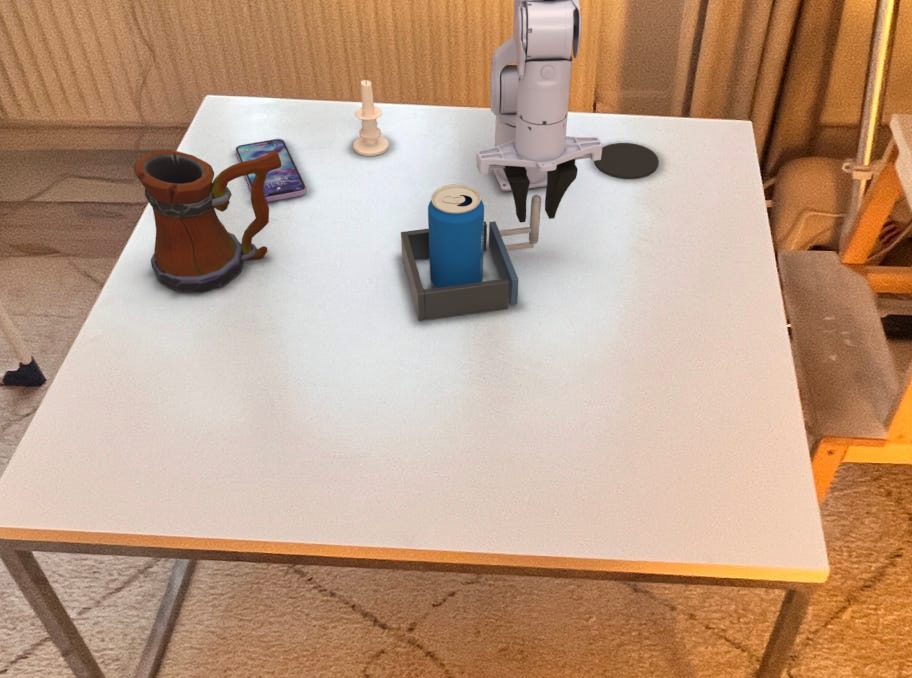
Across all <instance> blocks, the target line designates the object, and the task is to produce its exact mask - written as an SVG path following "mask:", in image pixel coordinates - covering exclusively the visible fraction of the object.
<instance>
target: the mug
mask: <svg viewBox="0 0 912 678" xmlns="http://www.w3.org/2000/svg"><path fill="white" fill-rule="evenodd" d="M281 166H282V165H281V160H280V157H279V155H278V153H277V151H271V152H270V153H268V154H267V155H265V156H263V157H260V158H257V159H254V160H250V161H244V162H241V163H240V162H237V163H235V164H232V165H230V166H228V167H226V168H225V169H224V170H223V169H222V171H221V172H219V173H218V174H217V175H216V176H215V171H214V169H213V167H212V165H211V164H209V163H208V162H207V161H204V160H203V159H201V158H199V157H197V156H195V155H194V154H189V153H186V152H182V151H178V150H174V151H173V150H157V151H154V152H150V153H148V154H145V155H143V156H141V157H140V158H139V159H137V160H136V162H135V164H134V165H133V166H132V169H133V172H134V174H135V176H136V177H137V179H138V180H139V182H140V183H141V185H142V186H143V188H144V196H145V198H146V200H147V202H148V203H149V206H151V207H152V212H153V216H154V223H155V242H154V251H153V252H154V253H153V254H152V257H151V258H150V264H151V268H152V270H153V272H154V274H155V276H156V278H157V279H158V281H159V282H160V284H161V285H164V286H165V287H167V288H169V289H171V290H173V291H175V292H177V293H203V292H207V291H210V290H214V289H218V288H221V287H224V286H226V285H227V284H228V283H229V282H230V281H231V280H233V279H234V278H235V277H237V276H238V275H239V274H240V273H241V272H242V269H243V265H244V262H245V261H255V260H259V259H260V260H261V259H264V258H265V256H266V254H267V253H268V247H267V246H265V245H264V246H263V245H262V246H261V247H259V248H257V246H256V244H254V243H253V238H254V237H255V236H256V235H258V233H260V232H261V231H262V230H263V229H264V228H265V227H266V226H267V225H268V224H269V223H270V207H269V204H268V202H267V201H266V198H265V194H264V183H265V179H266V176H267V173H268V172H269V171H271V170H274V169H278V168H280V167H281ZM252 173H253V174H255V179H254V181H253V184H252V188H251V190H250V202H251V207H252V210H253V213H254V217H255V218H254V219H253V220H252V221H251V223H249V224H248V226H247V228H246V229H244V232H243V235H242V238H241V243H240V242H239V240H238V238H237V237H236V235H235V234H234V233H231V232H229V231H228V230H227V228H226V227H225V226H224V224H223V223H222V222H221V220H220V219H219V216H218V214H217V212H216V210H217V211H219V212H222V213H223V212H226V211H227V210H228V208H229V205H230V199H231V197H232V196H233V194H232V191H231V190H230V188H229V187H228V184H229V182H231V181H234V180H235V179H238V178H241V177H245V175H249V174H252Z"/></svg>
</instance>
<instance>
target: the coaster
mask: <svg viewBox="0 0 912 678" xmlns="http://www.w3.org/2000/svg"><path fill="white" fill-rule="evenodd" d="M593 163H594V164H595V167H596V168H597V170H599V171H600V172H602V173H603V174H605V175H607V176H610V177H613V178H617V179H622V180H623V179H624V180H636V179H641V178H646V177H648V176H651V175H652V174H653V173H655V172H656V171H657V168H658V167H659V157H658V155H657V154H656V153H655V152H654V151H653V150H652V149H650V148H648V147H647V146H643V145H641V144H637V143H631V142H617V143H610V144H608V145H605V146H602V154H601V160H595V161H593Z"/></svg>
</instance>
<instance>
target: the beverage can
mask: <svg viewBox="0 0 912 678" xmlns="http://www.w3.org/2000/svg"><path fill="white" fill-rule="evenodd" d="M481 197H482V196H481V194H480V192H479V191H478V190H477V189H475V188H474V187H472V186H469V185H466V184H461V183H460V184H458V183H454V184H447V185H443V186H441V187H438V188H437V189H436V190H434V191H433V193H432V194H431V198H430V201H429V203H428V205H427V222H428V223H427V224H428V225H427V226H428V228H429V257H430V258H429V279H430V283H431V285H432V286H433V288H439V287H446V286H454V285H461V284H469V283H476V282H483V280H484V279H483V278H484V251H483V247H484V221H485V205H484V202H483V200H482V198H481Z"/></svg>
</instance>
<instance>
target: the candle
mask: <svg viewBox="0 0 912 678" xmlns="http://www.w3.org/2000/svg"><path fill="white" fill-rule="evenodd" d="M360 90H361V91H360V95H361V107H359V108H357V109H356V110H355V111H354V116H355V118H357V119H359V120H361V128H360V129H359V131H358V135H359V137H358V138H356V139H355V140H354V142H353V144H352V146H353V150H354V152H355V153H356V154H358V155H360V156H363V157H377V156H380V155H383V154H384V153H385V152H387V151H388V150H389V147H390V144H389V140H388V139H387V138H385V137H384V136H382V131H381V129H380V128H379V127H378V121H377V119H379V118H381V116H382V114H383V112H382V109H381V108H380V107H377V106H375V104H374V95H373V94H374V91H373V84H372V81H370V80H368V79H363V80H361V81H360Z"/></svg>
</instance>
